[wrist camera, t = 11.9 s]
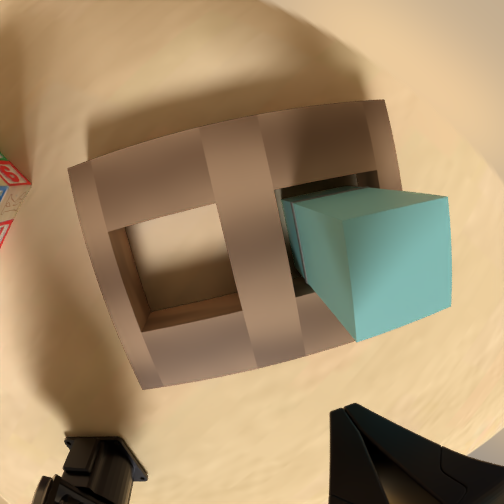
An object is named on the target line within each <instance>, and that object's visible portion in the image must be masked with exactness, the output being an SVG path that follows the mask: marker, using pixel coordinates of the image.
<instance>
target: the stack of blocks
mask: <svg viewBox="0 0 504 504" xmlns="http://www.w3.org/2000/svg"><path fill="white" fill-rule="evenodd" d="M31 186H32V184H31V183H30V182H29V181H28V180H27V179H26V178H25V177H24V176H23V175H22V174H21V173H20V172H19V171H18V170H17V169H16V168H15V166H14V165H13V164H12V163H11V162H10V161H8V160H7V159H6V158H5V157H4V156H3V155H2V154H1V152H0V248H1V245H2V243H3V241H4V239H5V236H6V234H7V232H8V230H9V228H10V226H11V224H12V222H13V220H14V218H15V216H16V214H17V212H18V210H19V208H20V207H21V205H22V203H23V201H24V199H25V197H26V195H27V194H28V192H29V190H30V188H31Z"/></svg>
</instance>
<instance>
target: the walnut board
mask: <svg viewBox="0 0 504 504" xmlns="http://www.w3.org/2000/svg"><path fill="white" fill-rule="evenodd" d="M68 173H69V178H70V183H71V188H72V192H73V196H74V201H75V205H76V209H77V213H78V217H79V221H80V224H81V228H82V232H83V235H84V239H85V242H86V246H87V249H88V252H89V256H90V259H91V262H92V265H93V268H94V272H95V275H96V278H97V281H98V283H99V286H100V289H101V292H102V295H103V298H104V300H105V303H106V306H107V309H108V311H109V314H110V316H111V319H112V322H113V324H114V327H115V329H116V332H117V334H118V336H119V339H120V341H121V344H122V346H123V348H124V351H125V353H126V355H127V357H128V360H129V362H130V364H131V366H132V368H133V371H134V373H135V375H136V377H137V379H138V381H139V383H140V385H141V387H142V389H143V390H145V389H153V388H160V387H166V386H172V385H179V384H184V383H190V382H196V381H201V380H206V379H212V378H217V377H222V376H226V375H231V374H236V373H240V372H245V371H249V370H254V369H258V368H262V367H266V366H270V365H274V364H278V363H282V362H286V361H290V360H293V359H297V358H301V357H304V356H308V355H311V354H315V353H318V352H322V351H325V350H328V349H332V348H335V347H338V346H341V345H344V344H348V343H351V342H354V341H355V340H354V338H353V337H352V336H351V335H350V333H349V332H348V331H347V330H346V329H345V327H344V326H343V325H342V324H341V322H340V321H339V320H338V319H337V318H336V316H335V315H334V314H333V313H332V311H331V310H330V309H329V308H328V307H327V305H326V304H325V303H324V302H323V301H322V299H321V298H320V297H319V296H318V295H317V293H316V292H315V291H314V290H313V289H312V287H311V286H310V285H309V284H307V283H306V282H305V279H304V278H303V277H298V278H294V279H292V277H291V272H290V267H289V261H288V256H287V251H286V246H285V241H284V236H283V231H282V226H281V222H280V217H279V212H278V207H277V202H276V198H275V193H274V190H275V189H280V188H285V187H290V186H294V185H299V184H304V183H309V182H314V181H319V180H324V179H330V178H335V177H340V176H346V175H351V174H356V176H357V181H358V187H365V186H368V187H369V188H378V189H388V190H397V191H402V185H401V179H400V173H399V167H398V161H397V155H396V150H395V145H394V140H393V135H392V130H391V126H390V121H389V117H388V113H387V109H386V104H385V100H368V101H355V102H344V103H334V104H325V105H316V106H308V107H301V108H294V109H287V110H281V111H275V112H269V113H263V114H258V115H252V116H247V117H242V118H237V119H232V120H227V121H223V122H218V123H214V124H210V125H205V126H201V127H197V128H193V129H189V130H185V131H181V132H177V133H174V134H170V135H166V136H163V137H159V138H156V139H152V140H149V141H146V142H142V143H139V144H136V145H133V146H129V147H126V148H123V149H120V150H117V151H114V152H111V153H108V154H105V155H103V156H100V157H97V158H94V159H91V160H89V161H86V162H83V163H81V164H78V165H75V166H73V167H70V168H68ZM214 203H216V205H217V209H218V213H219V218H220V222H221V226H222V230H223V234H224V238H225V242H226V246H227V251H228V255H229V259H230V263H231V267H232V271H233V275H234V279H235V283H236V287H237V291H238V292H237V293H233V294H229V295H225V296H220V297H216V298H212V299H208V300H203V301H199V302H194V303H190V304H185V305H181V306H176V307H172V308H167V309H163V310H158V311H153V312H151V311H150V308H149V305H148V302H147V299H146V296H145V293H144V290H143V287H142V284H141V281H140V278H139V275H138V272H137V268H136V265H135V262H134V259H133V255H132V252H131V249H130V245H129V242H128V238H127V235H126V231H125V227H126V226H130V225H134V224H137V223H141V222H144V221H148V220H152V219H155V218H159V217H163V216H167V215H171V214H174V213H178V212H182V211H186V210H190V209H194V208H198V207H202V206H206V205H210V204H214Z"/></svg>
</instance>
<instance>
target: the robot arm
mask: <svg viewBox="0 0 504 504" xmlns="http://www.w3.org/2000/svg"><path fill="white" fill-rule="evenodd" d="M64 442H65V444H66V445H67V447H68V448H69V449H70V452H69V454H68V456H67V459H66V461H65V463H64V466H63V470H64V472H63V475H62V477H60V476H58V475H57V474H55V475H54V476H53V478H51V477H46V476H42V478H41V480H40V482H39V484H38V486H37V489H36V491H35V494H34V497H33V500H32V504H129V501H130V496H131V491H132V486H133V481H147V480H148V475H147V474H146V473H145V471H144V470H143V469H142V467H141V466H140V465H139V463H138V462H137V461H136V459H135V458H134V456H133V455H132V453H131V452H130V451H129V449H128V448H127V446H126V445H125V443H124V442H123V440H122V439H121V438H119V437H66V438H65V440H64ZM328 504H504V466H501V465H496V464H492V463H489V462H485V461H481V460H478V459H475V458H471V457H468V456H465V455H463V454H460V453H458V452H455V451H453V450H450V449H448V448H446V447H444V446H442V447H441V445H439V444H437V443H435V442H433V441H430V440H428V439H426V438H424V437H422V436H420V435H418V434H416V433H414V432H412V431H410V430H408V429H406V428H403V427H401V426H399V425H397V424H396V423H394V422H392V421H390V420H388V419H386V418H384V417H382V416H380V415H378V414H376V413H374V412H372V411H370V410H369V409H367V408H365V407H363V406H361V405H359V404H357V403H353V404H350V405H347V406H345V407H344V408H339V409H336V410H333V411H331V412H330V476H329V503H328Z"/></svg>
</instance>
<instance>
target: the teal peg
mask: <svg viewBox="0 0 504 504" xmlns="http://www.w3.org/2000/svg"><path fill="white" fill-rule="evenodd" d="M281 201H282V206H283V211H284V216H285V221H286V226H287V231H288V236H289V241H290V246H291V251H292V256H293V261H294V266H295V268H296V269H297V271H298V272H299V273H300V274H301V275H302V277H303V278H304V279H305V282H306V283H307V284H309V285H310V286H311V287H312V289H313V290H314V291H315V292H316V293H317V295H318V296H319V297H320V298H321V299H322V301H323V302H324V303H325V304H326V305H327V307H328V308H329V309H330V310H331V311H332V313H333V314H334V315H335V316H336V318H337V319H338V320H339V321H340V322H341V324H342V325H343V326H344V327H345V329H346V330H347V331H348V332H349V333H350V335H351V336H352V337H353V338H354V340H355V341H356V342H359V341H362V340H365V339H368V338H371V337H374V336H377V335H379V334H382V333H385V332H388V331H391V330H393V329H396V328H399V327H401V326H404V325H407V324H409V323H412V322H414V321H417V320H419V319H422V318H424V317H427V316H429V315H432V314H434V313H436V312H439V311H441V310H443V309H446V308H448V307H450V306H451V292H452V255H451V231H450V217H449V205H448V197H446V196H439V195H431V194H423V193H415V192H406V191H397V190H388V189H378V188H369V187H368V186H365V187H356V186H343V187H338V188H333V189H328V190H323V191H318V192H313V193H308V194H304V195H299V196H294V197H290V198H285V199H281Z"/></svg>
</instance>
